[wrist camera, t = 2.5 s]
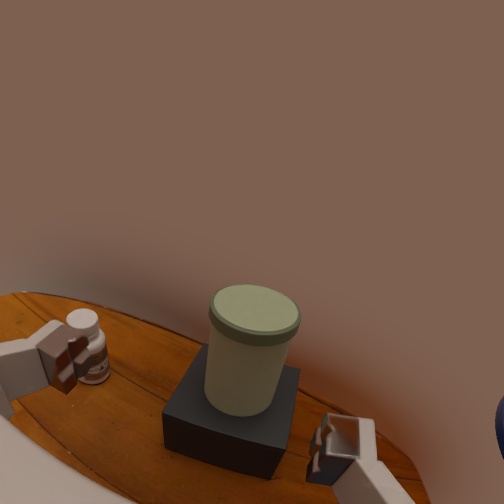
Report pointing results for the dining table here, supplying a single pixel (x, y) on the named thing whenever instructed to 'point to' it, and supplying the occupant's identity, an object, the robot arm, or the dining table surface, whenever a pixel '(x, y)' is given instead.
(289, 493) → the dining table surface
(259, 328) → the lidded cream canister
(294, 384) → the dark grey square box
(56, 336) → the robot arm
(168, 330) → the dining table surface
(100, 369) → the pill bottle
